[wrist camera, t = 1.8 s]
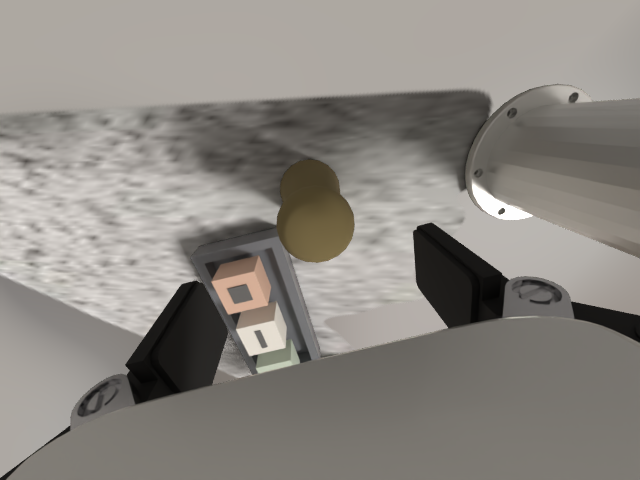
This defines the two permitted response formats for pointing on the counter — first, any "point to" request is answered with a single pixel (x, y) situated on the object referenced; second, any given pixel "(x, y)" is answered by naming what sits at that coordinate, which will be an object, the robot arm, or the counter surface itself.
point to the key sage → (277, 358)
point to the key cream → (262, 329)
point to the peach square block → (242, 285)
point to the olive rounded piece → (313, 213)
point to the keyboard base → (281, 291)
